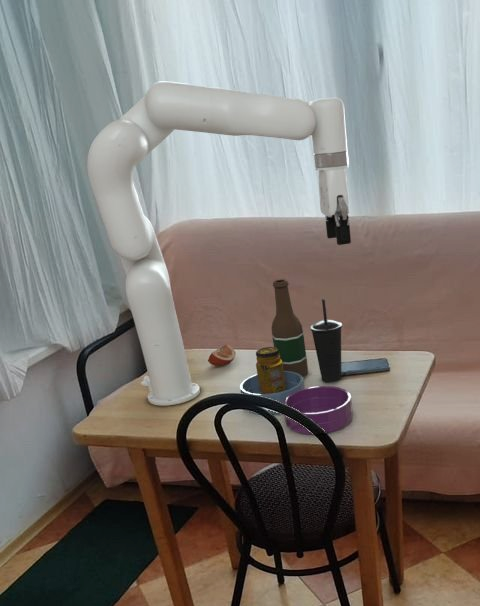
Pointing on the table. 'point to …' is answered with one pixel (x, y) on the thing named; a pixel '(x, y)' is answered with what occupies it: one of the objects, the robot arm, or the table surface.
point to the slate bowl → (292, 385)
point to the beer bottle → (288, 332)
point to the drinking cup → (328, 347)
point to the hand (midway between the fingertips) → (338, 240)
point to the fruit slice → (222, 356)
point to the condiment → (270, 371)
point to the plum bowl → (321, 408)
